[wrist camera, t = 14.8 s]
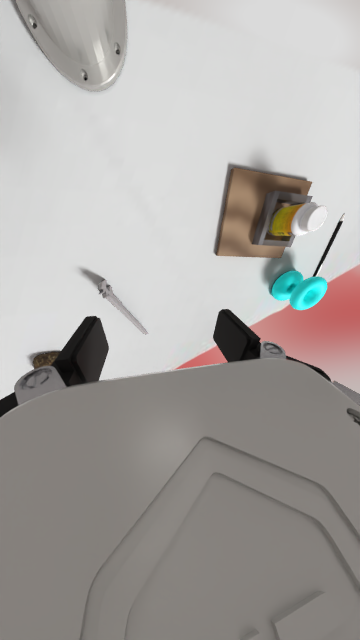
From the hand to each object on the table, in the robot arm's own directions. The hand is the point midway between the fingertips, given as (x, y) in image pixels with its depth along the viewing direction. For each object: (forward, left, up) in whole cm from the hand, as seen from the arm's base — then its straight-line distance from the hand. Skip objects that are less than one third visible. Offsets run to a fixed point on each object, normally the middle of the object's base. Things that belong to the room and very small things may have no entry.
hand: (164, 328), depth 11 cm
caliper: (+13, -8, -29) cm, 33 cm away
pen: (-5, +54, -29) cm, 62 cm away
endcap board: (-11, +27, -28) cm, 40 cm away
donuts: (+6, +44, -29) cm, 53 cm away
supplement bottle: (-11, +31, -27) cm, 43 cm away
